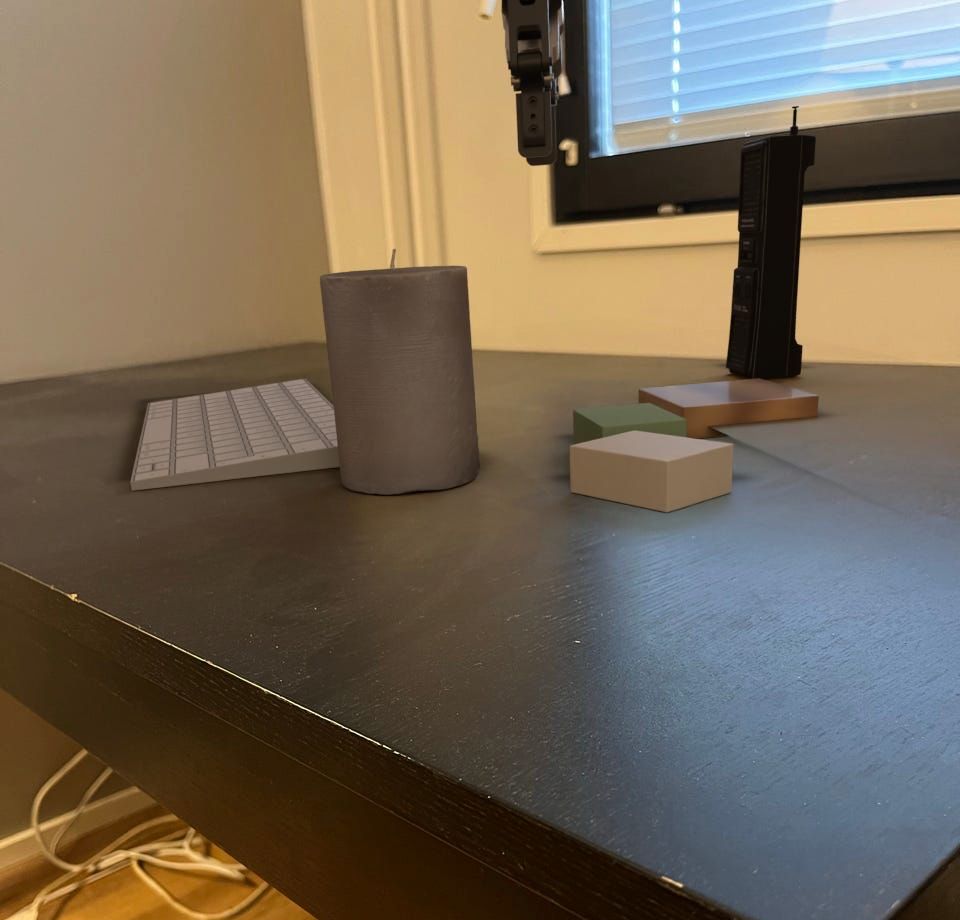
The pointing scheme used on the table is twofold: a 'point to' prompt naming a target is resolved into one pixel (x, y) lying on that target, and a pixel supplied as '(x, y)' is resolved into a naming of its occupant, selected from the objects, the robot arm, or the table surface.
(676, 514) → the table surface
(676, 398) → the brown l-shaped block
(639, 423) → the green pad
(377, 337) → the pillar candle
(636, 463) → the beige block
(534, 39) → the robot arm
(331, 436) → the computer keyboard
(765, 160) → the portable radio
